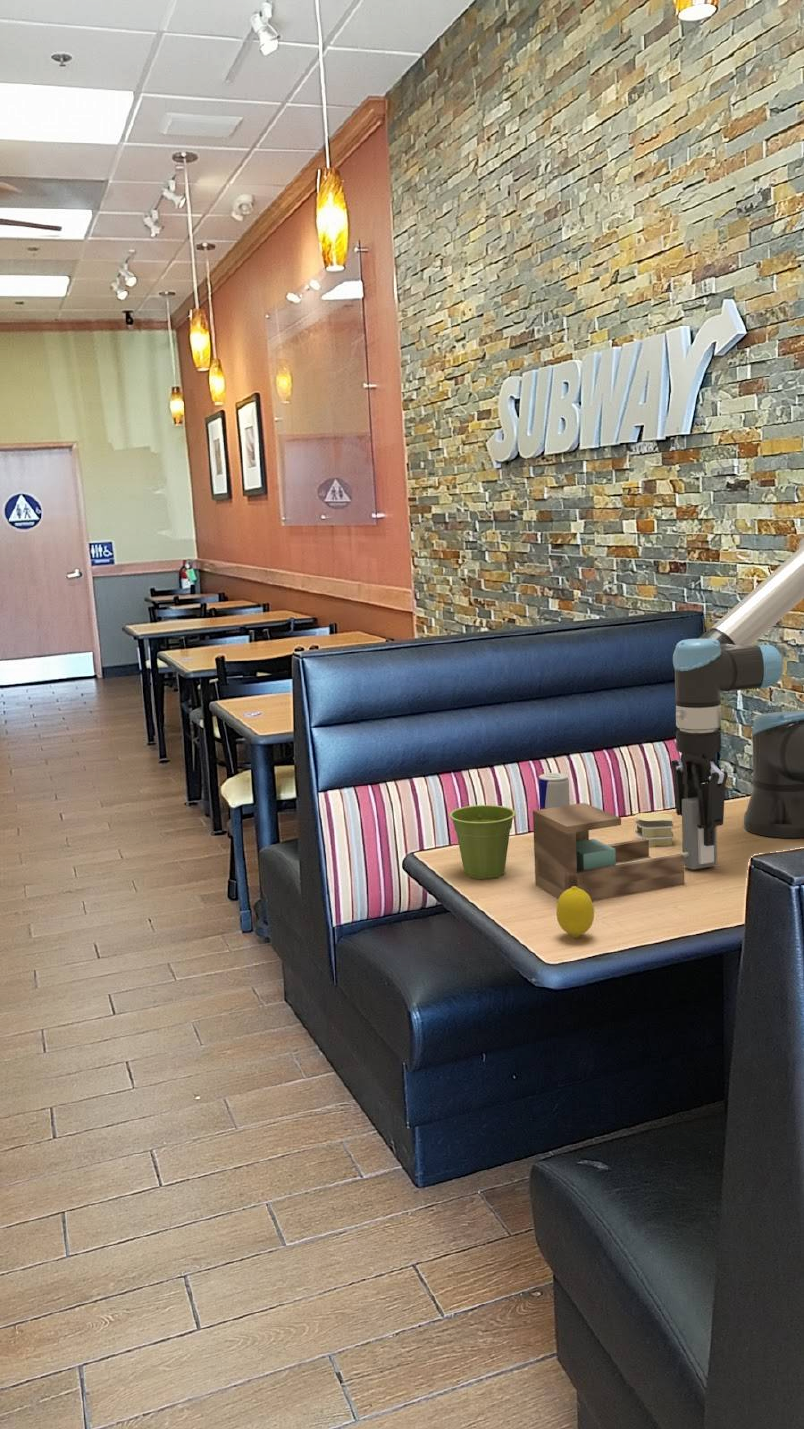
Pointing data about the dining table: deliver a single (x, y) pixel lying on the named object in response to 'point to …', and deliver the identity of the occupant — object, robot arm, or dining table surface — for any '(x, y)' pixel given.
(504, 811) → the plant pot
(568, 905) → the lemon
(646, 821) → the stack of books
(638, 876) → the walnut shelf
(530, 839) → the dining table surface
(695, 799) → the pull block
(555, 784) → the beverage can
